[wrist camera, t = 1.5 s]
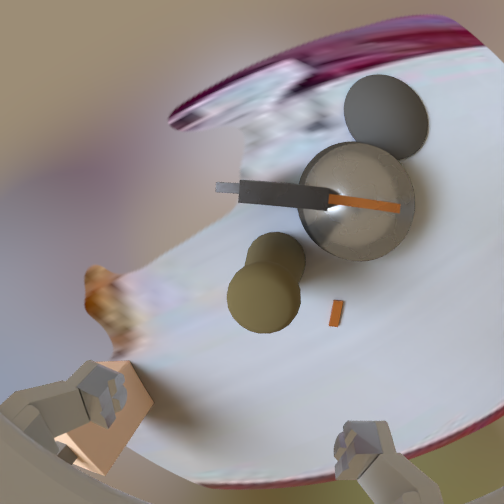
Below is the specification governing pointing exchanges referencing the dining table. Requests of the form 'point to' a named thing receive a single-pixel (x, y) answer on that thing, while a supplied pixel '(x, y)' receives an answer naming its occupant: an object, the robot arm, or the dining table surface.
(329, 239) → the saucepan
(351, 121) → the coaster
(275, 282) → the cork
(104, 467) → the soap dispenser
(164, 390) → the dining table surface
